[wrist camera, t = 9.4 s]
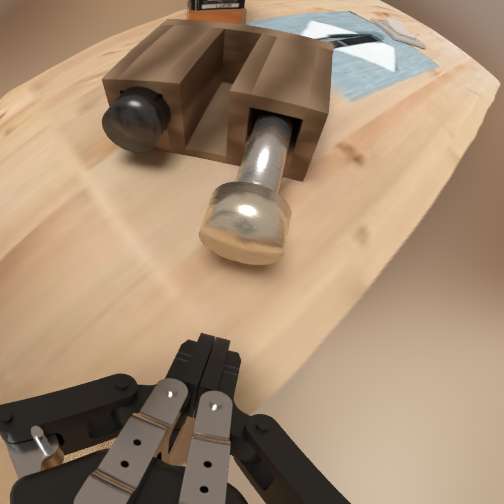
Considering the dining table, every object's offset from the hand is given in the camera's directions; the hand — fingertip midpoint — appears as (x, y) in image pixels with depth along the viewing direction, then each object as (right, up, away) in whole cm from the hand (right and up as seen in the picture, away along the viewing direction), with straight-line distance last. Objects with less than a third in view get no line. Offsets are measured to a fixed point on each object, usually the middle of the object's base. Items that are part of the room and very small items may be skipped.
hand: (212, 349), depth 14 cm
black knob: (-7, +21, +14) cm, 26 cm away
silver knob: (+3, +11, +11) cm, 15 cm away
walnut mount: (-1, +20, +17) cm, 26 cm away
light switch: (+39, +61, +41) cm, 83 cm away
